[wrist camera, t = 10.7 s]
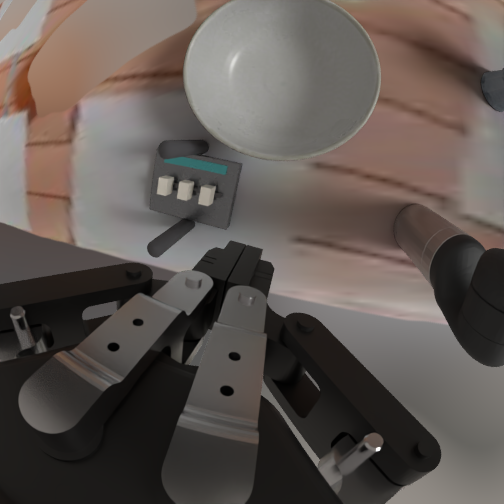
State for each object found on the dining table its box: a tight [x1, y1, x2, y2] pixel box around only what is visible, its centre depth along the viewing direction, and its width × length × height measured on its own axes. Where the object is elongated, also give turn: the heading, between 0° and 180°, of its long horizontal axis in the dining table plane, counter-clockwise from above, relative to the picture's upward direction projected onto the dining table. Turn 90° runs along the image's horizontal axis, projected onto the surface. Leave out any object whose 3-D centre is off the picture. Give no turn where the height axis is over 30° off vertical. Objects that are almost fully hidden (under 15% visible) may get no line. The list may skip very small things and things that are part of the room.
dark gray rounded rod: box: [158, 140, 209, 159], centre depth 41 cm, size 3×3×14 cm
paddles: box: [157, 175, 216, 206], centre depth 46 cm, size 10×3×2 cm, turn 77°
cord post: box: [147, 218, 195, 257], centre depth 47 cm, size 3×3×14 cm
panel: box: [150, 149, 242, 229], centre depth 49 cm, size 16×12×3 cm
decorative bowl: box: [183, 0, 381, 161], centre depth 35 cm, size 27×27×12 cm
